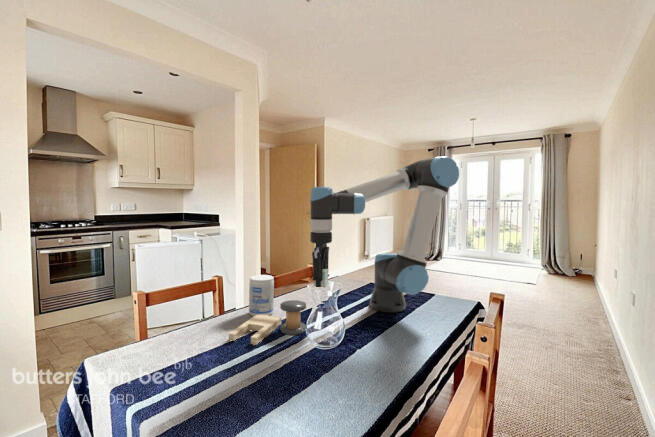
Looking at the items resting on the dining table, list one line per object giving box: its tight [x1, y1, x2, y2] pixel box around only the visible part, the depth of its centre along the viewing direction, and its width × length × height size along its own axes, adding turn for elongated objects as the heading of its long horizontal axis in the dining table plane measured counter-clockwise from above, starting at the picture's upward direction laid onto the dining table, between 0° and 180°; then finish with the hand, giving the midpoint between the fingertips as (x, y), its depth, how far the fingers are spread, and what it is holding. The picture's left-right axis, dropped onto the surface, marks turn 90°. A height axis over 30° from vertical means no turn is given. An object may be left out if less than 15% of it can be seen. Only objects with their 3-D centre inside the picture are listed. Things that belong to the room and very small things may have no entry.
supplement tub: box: [248, 274, 275, 317], centre depth 126 cm, size 10×10×15 cm
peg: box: [313, 268, 329, 288], centre depth 112 cm, size 4×4×10 cm
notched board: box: [228, 314, 282, 346], centre depth 109 cm, size 18×10×2 cm, turn 163°
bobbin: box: [279, 299, 307, 336], centre depth 111 cm, size 9×9×9 cm
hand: (320, 296), depth 112 cm, fingers closed on peg, 4 cm apart
